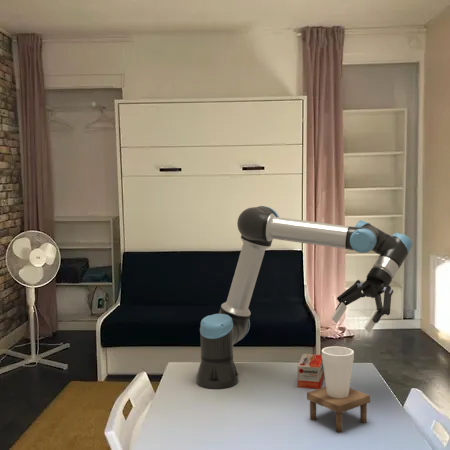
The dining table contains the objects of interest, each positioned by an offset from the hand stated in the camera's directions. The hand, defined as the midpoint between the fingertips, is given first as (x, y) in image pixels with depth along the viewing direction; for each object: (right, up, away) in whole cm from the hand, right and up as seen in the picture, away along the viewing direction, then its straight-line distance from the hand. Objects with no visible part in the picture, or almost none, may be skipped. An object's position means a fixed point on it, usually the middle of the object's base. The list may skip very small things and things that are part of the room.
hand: (350, 325), depth 171 cm
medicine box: (-8, -25, +24) cm, 35 cm away
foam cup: (-6, -19, -10) cm, 22 cm away
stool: (-6, -27, -10) cm, 29 cm away
